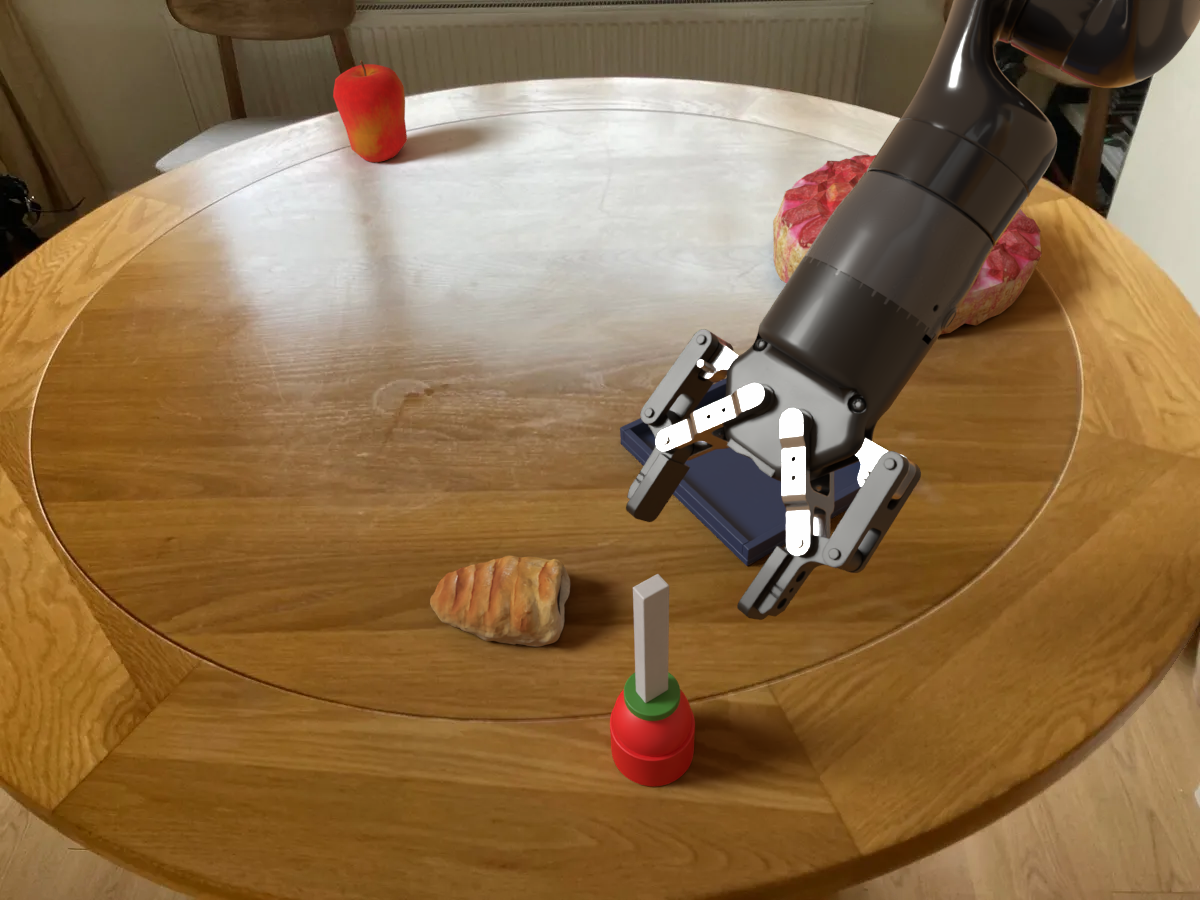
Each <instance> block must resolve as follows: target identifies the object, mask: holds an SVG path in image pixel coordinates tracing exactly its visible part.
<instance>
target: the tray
mask: <svg viewBox="0 0 1200 900" xmlns="http://www.w3.org/2000/svg"><path fill="white" fill-rule="evenodd" d="M723 398H726V378H725V379H723V380H721V381H719V382H717V383H713V385H712V386H711V387H710V389H709V390H708V392H707V393H706V394H705V396H704V397H703V398H702V400H701V401H700V403H699V404H698V405H697V407H696V408H695V409H694V411H696V410H699V409H701V408H703V407H705V406H708V405H710V404H712V403H714V402H717V401H719V400H721V399H723ZM694 411H693V412H694ZM619 436H620V437H619V438H620V439H619V440H620V445H621V446H622V447H623V448H624V449H626V450H627V451H628V453H630V455H632V456H633V457H634V458H635V460H636V461H638V462H639V463H640V464H641V465H642V467H643V466H644V465H645V463H646V462H647V460H648V458H649V457H650V455H651V454H652V452H653V451H654V448H655V444H656V443H655V441H656V440H655V436H654V434H653V432H652V431H651V429H650V427H649V425H648V424H646V423H644V422H643V421H642V420H641V417H639V418H637V419H635V420H633V421H630V422H628V423H627V424H624V425H622V426H620V427H619ZM685 464H686V465H688V466H689V467H690V469H689V470H688V472H687V473H686V475H685V476H684V478H683V479H682V481H681V482H680V484H679V485H678V487H677V488H676V490H675V491H674V493H673V495H672V496H674V497H675V498H676V499H677V500H678V501H679V502H680V504H682V506H684V507H685V508H686V509H687V510H688V511H689V512H690V513H691V514H692V515H693V516H694V517H696V519H698V521H700V522H701V523H702V524H703V525H704V526H705V527H706V528H707V529H708V530H709V531H710V532H711V533H712V534H713V535H714V536H715V537H716V538H717V539H718V540H719V541H720V542H721V543H722V544H723V545H724V546H725V547H726V548H728V550H729V551H731V552H732V554H733V555H734V556H736V557H737V559H738V560H739V561H741V562H742V563H743V564H744V565H745V566H746V567H748V566H751V565H752V564H753V563H756V562H758V561H759V560H761V559H762V558H764V557H766V556H768V555H771V554H772V553H773V551H774V550H775V548H776V547H777V546H780V547H785V546H786V508H785V505H784V504H783V501H782V482H780V481H778V480H776V479H773V478H771V477H770V476H768V475H767V474H766V473H764V472H763V471H761V470H760V469H759V468H758V466H757V465H756V464H755V462H754V461H753V460H752V459H750V458H748V457H746V456H744V455H741V454H739V453H737V452H736V451H734V450H733V449H731V448H726V449H716V450H713V451H711V452H708V453H706V454H704V455H701V456H699V457H696V458H694V459H692V460H688V461H686V462H685ZM860 469H861V462H860V461H858V462H856V463H854V464H851V465H849V466H846V467H844V468H841V469H839V470H836V471H834V511H833V513H832V514H831V517H830V520H832V519H833V518H835V517H837V516H839V515H840V514H842V513H844V512H846V511H847V509H848V508H849V506H850V505H851V503H852V501H853V500H854V498H855V496H856V495H857V493H858V492H859V490H860V488H861V486H860V485H859V483H858V474H859V471H860Z"/></svg>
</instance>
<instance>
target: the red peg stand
mask: <svg viewBox="0 0 1200 900" xmlns="http://www.w3.org/2000/svg"><path fill="white" fill-rule="evenodd" d="M632 603H633V604H632V605H633V607H632V609H633V637H634V639H633V641H634V672H633V673H632V674H631V675H630V676H629V677H628V678H627V680H626V682H625V683H624V686H623V689H622V690H621V691H620V693H619V694H618V696H617V698H616V700H615V703H614V706H613V708H612V711H611V713H610V717H609V732H610V733H609V735H610V749H611V750H610V751H611V757H612V760H613V762H614V763H613V764H614V765H615V766H616V768H617V769H618V771H619V772H620V773H621V774H622V775H623V776H624V777H625V778H626V779H628V780H629V781H631V782H633V783H635V784H637V785H641V786H645V787H663V786H665V785H669V784H671V783H674V782H675V781H677V780H679V779H680V778H681V777H682V776H683V775H684V774H686V772H687V771H688V770H689V768H690V766H691V764H692V761H693V759H694V754H695V753H694V752H695V734H696V733H695V732H696V719H695V715H694V712H693V710H692V708H691V705H690V702H689V699H688V697H687V695H685V693H684V692H683V690H682V689H681V687H680V684H679V682H678V680H677V679H676V677H675V676H674V675H673V674H672V673H670V672H669V652H670V651H669V645H670V644H669V643H670V641H669V639H670V638H669V635H670V585H669V584H668V583H667V582H666V580H665V579H664V578H663V577H662V576H661V575H660V574H659V573H657V574H655V575H653V576H651V577H649V578H647V579H645V580H644V581H642V582H640V583H638V584H636V585H634V586H632Z"/></svg>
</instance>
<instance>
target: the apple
mask: <svg viewBox="0 0 1200 900" xmlns="http://www.w3.org/2000/svg"><path fill="white" fill-rule="evenodd" d="M359 63H360V64H359V65H356V66H352V67H350V68H349V69H346V70H345V71H344V72H342V73H341V74H339V75H338V76H337V77H336V78H335V79H334V85H333V92H332V93H333V94H332V98H333V100H334V103H335V105H336V109H337V111H338V113H339V116H340V118H341V121H342V123H343V125H344V127H345V130H346V131H345V132H346V134H347V138H348V141H349V144H350V149H351V150H352V151H353V152H354V153H356V154H357V156H358V157H360V158H362V159H363V160H364V161H365V162H369V163H381V162H385V161H388V160H390V159H393V158H394V157H396V156H397V155H398V154H399V153H400V152H401V150H402V148H403V147H404V146H405V144H407V142H408V135H407V125H406V96H405V87H404V84H403V81H402V80H401V79H400V78H399V76H398V75H397V73H396V72H395V71H394V70H393V69H392V68H390V67H388V66H384V65H381V64H376V63H375V64H373V63H372V64H371V63H365V64H364V62H363V60H362V59H361V60H360V61H359Z"/></svg>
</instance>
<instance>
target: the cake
mask: <svg viewBox="0 0 1200 900" xmlns="http://www.w3.org/2000/svg"><path fill="white" fill-rule="evenodd" d="M876 155H877V154H873V155H869V154H858V155H853V156H852V157H850V158H844V159H841V160H826V162H825V163H824V164H823V165H821V166H819V167H818V168H817V169H815V170H813V171H812V172H811V173H807V174H805V175H804V176H803V177H801V178H800V179H798V180H797V181H795V183H794V184H793V186H791V188H789V189H787V190H785V192H784V195H783V198H782V199H781V203H780V206H779V208H778V211H777V213H776V215H775V217H774V219H773V220H772V227H773V229H772V230H773V231H772V232H773V264H774V267H775V268H774V269H775V272H776V274H777V275H778V278H779V279H780V280H781V282H784V283H785V284H786V283H787V282H788V280H789V279H790V277H791V276H792V274H793V273H794V271H795V270H796V268H797V267H798V265H799V263H800V262H801V260H802V259H803V257H804V256H805V254H806V253H807V251H808V250H809V248H810V247H811V245H812V244H813V242H814V240H815V239H816V237H817V236H818V234H819V233H820V231H821V230H822V228H823V227H824V225H825V223H826V222H827V220H828V219H829V217H830V216H831V215H832V213H833V212H834V210H835V209H836V208H837V206H838V205H839V204H840V203H841V202H842V200H843V199H844V198H845V197H846V196H847V195H848V194H849V192H850V191H851V190H852V189H853V188H854V186H855V185H856V184H857V183H858V181H859V180H860V179H861V177H862V176H863V175H864V173H865V172H866V171H867V169H868V167H869V166H870V164H871V163H872V161H873V160H874V158H875V156H876ZM1041 257H1042V248H1041V228H1039V226H1038V224H1037V222H1036V220H1035V219H1033V218H1030V217H1028V216H1027V215H1026V214H1025V213H1024V212H1023V210H1022V208H1021V209H1020V210H1019V211H1018V213H1017V214H1016V216H1015V217H1014V219H1013V220H1012V222H1011V223H1010V224H1009V226H1008V227H1007V229H1006V230H1005V232H1004V233H1003V235H1002V236H1001V238H1000V239H999V240H998V242H997V243H996V245H995V246H993V249H992V251H991V252H990V254H989V256H988V257H987V259H986V261H985V263H984V265H983V266H982V268H981V270H980V272H979V275H978V277H977V279H976V281H975V282H974V284H973V286H972V288H971V290H970V291H969V293H968V295H967V296H966V298H965V299H964V301H963V302H962V304H961V305H960V306H959V308H958V309H957V313H956V315H955V317H954V319H953V321H952V322H951V324H950V325H949V326H948V327H947V328H946V329H944V330H943V331H942V333H941V334H940V335H944V334H951V333H952V332H953V331H955V330H957V329H958V328H960V327H961V326H963V325H964V324H967V325H972V326H978V325H981V324H982V323H983V322H985V321H987V320H989V319H991V318H993V317H995V316H998V315H1001V314H1002V313H1003V312H1005V311H1006V310H1007V309H1008V308H1010V307H1011V306H1012V305H1013V304H1014V303H1015V302H1016V301H1017V300H1018V298H1019V297H1020V295H1021V294H1022V293H1023V291H1024V289H1025V288H1026V286H1027V284H1028V282H1029V280H1030V279H1031V278H1032V275H1033V273H1034V271H1035V270H1036V267H1037V265H1038V263H1039V262H1040V259H1041Z"/></svg>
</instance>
